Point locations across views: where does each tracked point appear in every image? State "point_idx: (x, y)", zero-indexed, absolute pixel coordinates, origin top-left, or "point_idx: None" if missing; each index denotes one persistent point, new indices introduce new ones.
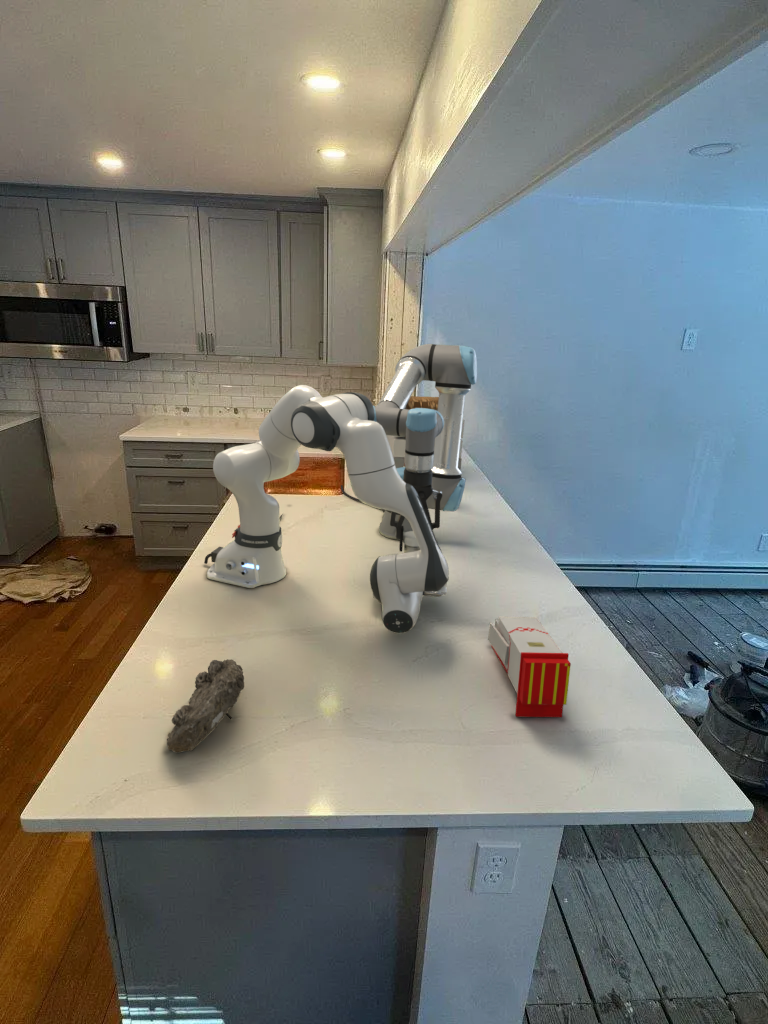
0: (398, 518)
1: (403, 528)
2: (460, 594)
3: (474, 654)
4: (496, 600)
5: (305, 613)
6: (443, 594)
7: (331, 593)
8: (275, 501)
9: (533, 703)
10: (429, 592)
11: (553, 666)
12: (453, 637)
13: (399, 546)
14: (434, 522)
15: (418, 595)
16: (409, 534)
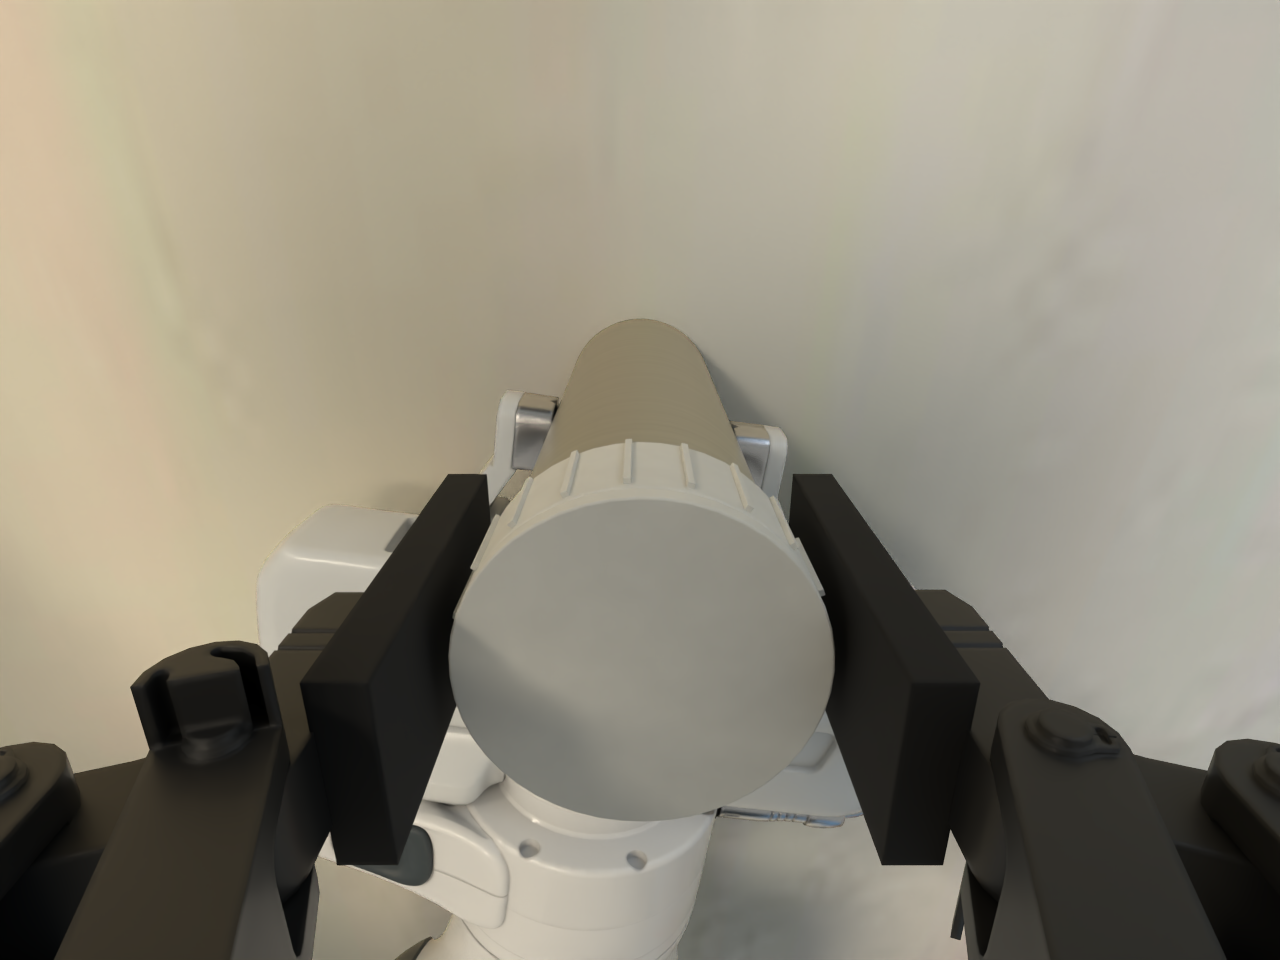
0: (100, 880)
1: (389, 818)
2: (1021, 406)
3: (911, 956)
4: (1261, 471)
5: (17, 719)
6: (861, 812)
7: (68, 478)
8: None
9: None
10: (759, 820)
11: None
12: (844, 857)
13: (443, 481)
14: (1225, 872)
15: (668, 957)
16: (552, 671)
